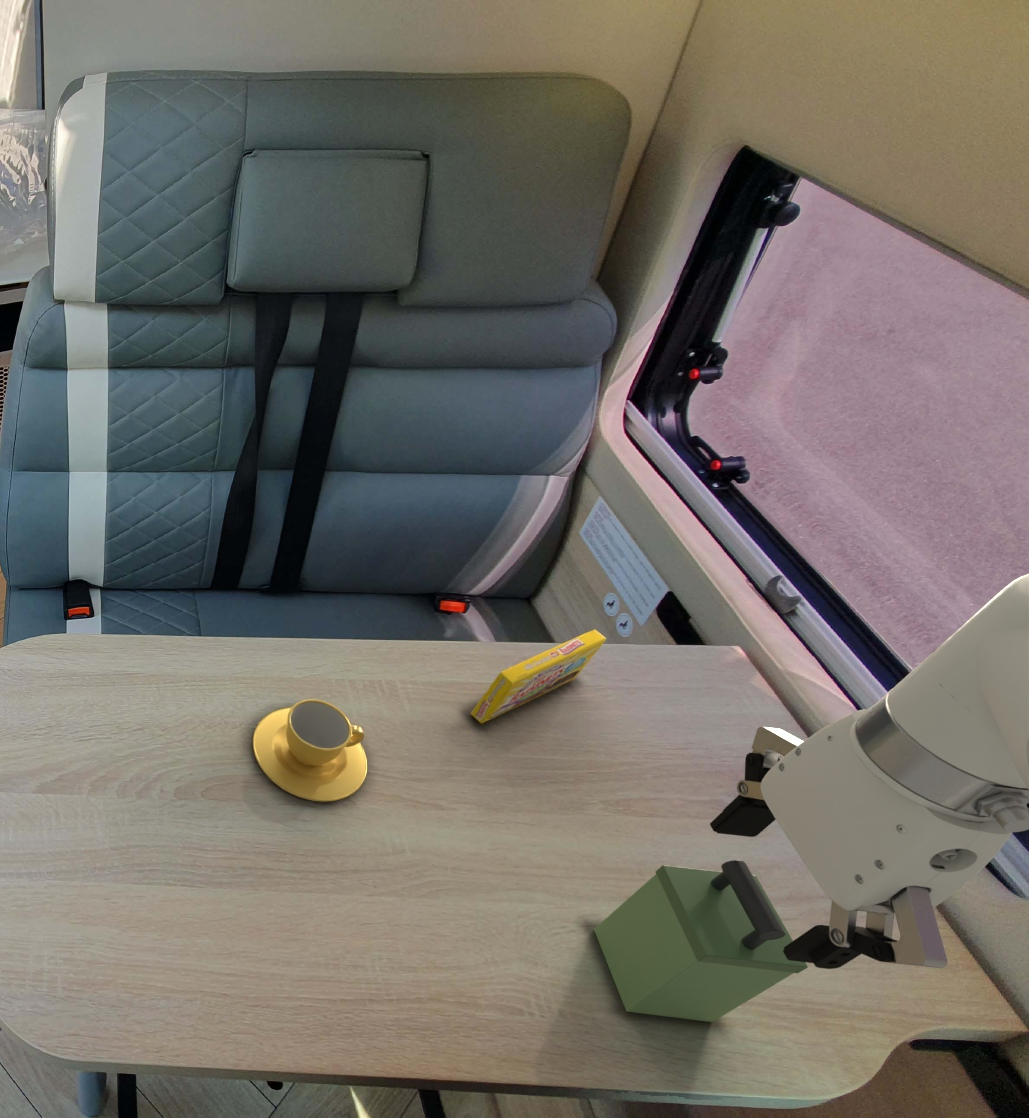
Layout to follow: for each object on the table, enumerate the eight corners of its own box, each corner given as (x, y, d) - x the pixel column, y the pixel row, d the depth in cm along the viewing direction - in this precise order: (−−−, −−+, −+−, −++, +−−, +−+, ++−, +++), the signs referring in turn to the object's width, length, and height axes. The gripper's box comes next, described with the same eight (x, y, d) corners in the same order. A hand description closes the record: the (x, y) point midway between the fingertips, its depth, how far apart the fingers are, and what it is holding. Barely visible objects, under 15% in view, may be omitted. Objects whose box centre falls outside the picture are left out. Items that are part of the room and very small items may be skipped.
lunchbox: (718, 1024, 68) (844, 949, 57) (625, 1012, 68) (733, 936, 58) (677, 937, 73) (786, 855, 63) (591, 927, 74) (685, 844, 63)
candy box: (483, 727, 90) (512, 683, 85) (468, 714, 91) (496, 669, 86) (575, 682, 95) (608, 637, 90) (561, 670, 96) (592, 625, 91)
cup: (265, 803, 82) (276, 774, 79) (242, 709, 91) (251, 678, 88) (381, 803, 83) (397, 774, 79) (346, 709, 92) (360, 679, 88)
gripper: (1146, 900, 41) (903, 1025, 52) (908, 651, 54) (754, 794, 65) (988, 883, 42) (781, 1010, 53) (790, 640, 55) (657, 784, 66)
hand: (766, 890), depth 59 cm, fingers open, 9 cm apart
